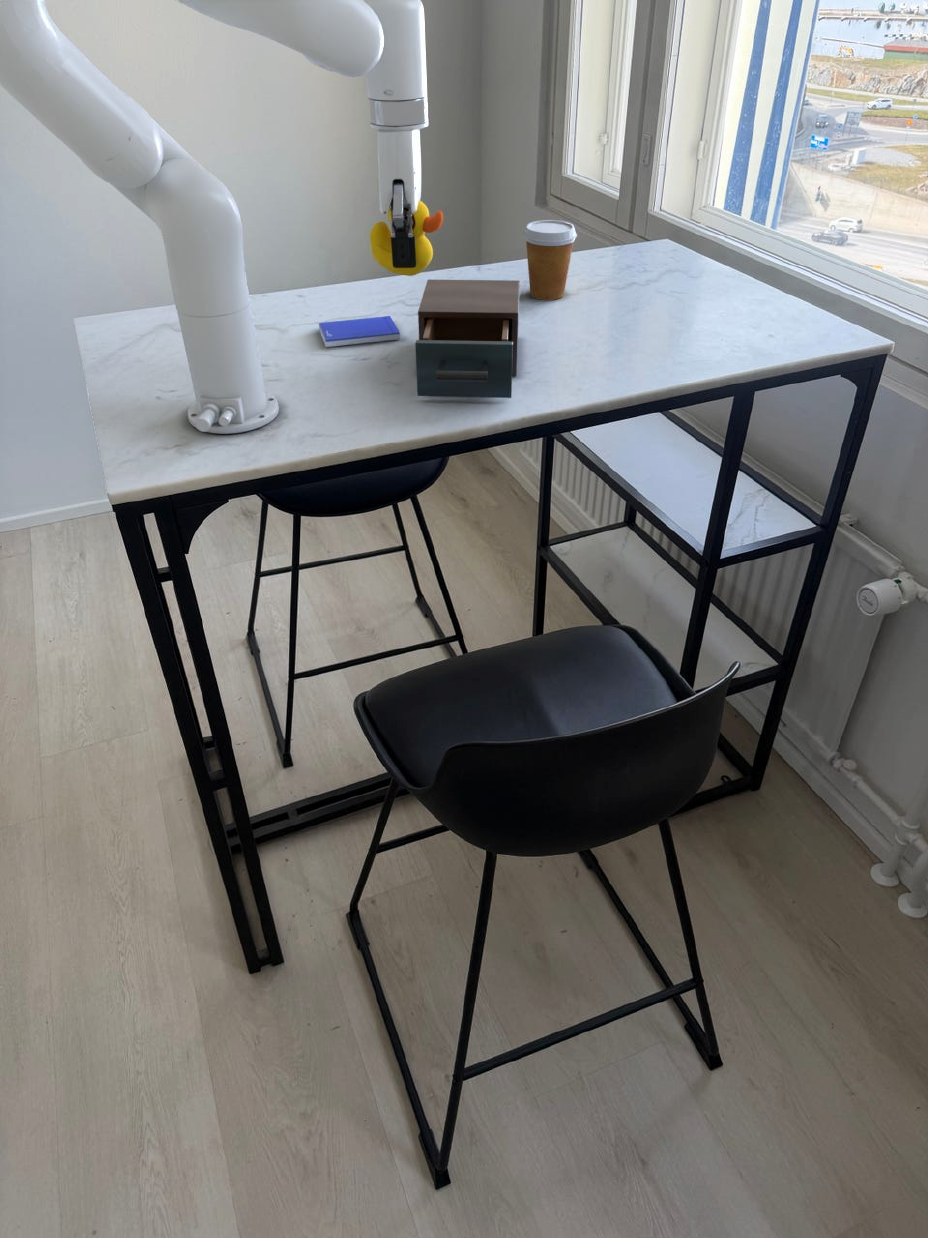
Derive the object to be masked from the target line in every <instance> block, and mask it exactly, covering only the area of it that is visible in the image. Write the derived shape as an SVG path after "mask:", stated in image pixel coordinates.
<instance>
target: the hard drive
mask: <svg viewBox="0 0 928 1238" xmlns="http://www.w3.org/2000/svg"><path fill="white" fill-rule="evenodd" d="M318 331H319V334H320V336H321V338H322V341H323V343H324V345H325V348H332V347H342V346H351V345H359V344H368V343H378V342H385V341H386V342H387V341H396V340H401V335H400V334H401V333H400V331H399V328H398V327H397V325H396V323H395V322H394V320H393V318H392V317H391V316H390V315H385V316H376V317H375V316H374V317H365V318H354V319H346V320H345V319H344V320H334V321H324V322H318Z"/></svg>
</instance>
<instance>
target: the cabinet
mask: <svg viewBox="0 0 928 1238" xmlns="http://www.w3.org/2000/svg"><path fill="white" fill-rule="evenodd" d="M520 283H521V281H520V280H509V279H508V280H506V279H505V280H504V279H503V280H501V279H500V280H497V279H427V281H426V283H425V286H424V287H425V288H424V291H423V294H422V297H421V300H420V305H419V307H418V310H417V319H418V321H417V323H418V340H423V335H424V332H425V328H426V324H427V321H428V318H497V319H509V342H513V358H512V377H513V378H514V377H515V378H516V377H517V371H518V349H519V319H520V316H519V315H520V288H521V287H520V286H521V285H520Z"/></svg>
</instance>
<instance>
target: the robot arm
mask: <svg viewBox="0 0 928 1238" xmlns="http://www.w3.org/2000/svg"><path fill="white" fill-rule="evenodd" d="M175 1H176V2H178V3H180V4H181V5H184V6H187V7H188V8H190V9H192V10H194V11H196V12H198V13H200V14H202V15H204V16H206V17H208V18H210V19H213V20H215V21H217V22H220V23H222V24H225V25H227V26H230V27H235V28H237V29H241V30H244V31H248V32H252V33H254V34H257V35H259V36H262V37H264V38H267V39H269V40H271V41H274V42H276V43H278V44H280V45H283V46H284V47H288V48H289V49H291V50H294V51H295V52H297V53H299V54H301V55H302V56H303V57H304V58H305V59H306V60H307V61H309V62H310V63H311V64H313V65H314V66H316V67H318V68H320V69H324V70H327V71H329V72H334V73H336V74H339V75H342V76H344V77H349V78H358V77H361V76H364V75H366V76H365V78H366V90H367V102H368V116H369V127H370V129H372V130H375V131H377V144H376V145H377V147H376V148H377V149H376V150H377V174H378V197H379V199H378V200H379V212H380V213H381V214H382V215H386V214H387V213H388V211H389V209H390V208H391V223H390V225H391V226H390V227H391V228H390V229H391V230H390V232H391V235H392V236H391V247H392V262H393V267H394V268H414V267H416V249H415V236H413V227H412V214H414V213H415V212H416V211H417V207H418V202H419V200H420V201H421V198H422V151H421V130H422V129H425V128H427V127H429V102H428V99H429V98H428V82H427V55H426V53H427V52H426V26H425V23H426V22H425V8H424V4H423V2H422V0H175ZM0 86H1V87H2V88H3V90H5V91H6V92H7V93H8V94H9V95H10V96H11V97H12V98H13V99H15V101H16V102H17V103H19V104H20V105H21V106H22V107H23V108H24V109H25V110H26V111H27V112H29V114H31V115H32V116H33V117H34V118H35V119H36V120H37V121H39V123H40V124H41V125H43V127H45V128H46V129H47V130H48V131H49V132H50V133H51V134H53V136H55V137H56V138H57V139H58V140H59V141H60V142H62V143H63V144H64V145H65V146H66V147H67V148H68V149H70V151H71V152H72V153H74V154H75V155H76V156H77V157H78V158H79V159H80V160H81V162H82V163H83V164H84V166H85V167H86V168H87V169H88V170H90V172H92V173H93V174H94V175H95V176H97V178H100V179H101V180H103V181H104V182H106V183H109V184H110V185H111V186H112V187H114V188H115V189H116V190H117V191H118V192H119V194H121V195H123V196H124V198H126V199H127V200H128V201H130V202H131V203H132V204H133V205H134V206H135V207H136V208H138V209H139V210H140V211H141V212H142V213H144V214H145V215H146V216H147V217H148V218H149V219H150V220H151V221H152V222H154V224H155V225H156V226H157V228H158V229H159V231H160V234H161V236H162V241H163V245H164V250H165V256H166V263H167V269H168V275H169V276H168V277H169V280H170V282H169V283H170V287H171V292H172V297H173V300H174V305H175V309H176V313H177V317H178V322H179V327H180V332H181V336H182V340H183V341H182V342H183V346H184V350H185V355H186V360H187V365H188V368H189V374H190V377H191V382H192V383H191V384H192V387H193V392H194V396H195V401H194V402H193V403H192V404H191V405H190V406H189V407H188V409H187V418H188V422H189V424H190V425H191V426H193V428H196V429H197V430H198V431H200V432H202V433H210V434H218V435H219V434H220V435H222V434H223V435H225V434H226V435H229V434H231V435H232V434H240V433H245V432H249V431H254V430H257V429H259V428H261V427H264V426H266V425H268V424H269V423H271V422H272V421H273V420H274V419H275V418H276V417H277V416H278V414H279V411H280V407H279V406H280V405H279V402H278V400H277V398H276V397H275V396H273V395H272V394H270V393H268V392H266V390H265V384H264V378H263V377H264V376H263V371H262V365H261V361H260V360H261V358H260V352H259V346H258V341H257V334H256V328H255V321H254V315H253V309H252V302H251V298H250V297H251V296H250V293H249V285H248V279H247V273H246V264H245V254H244V253H245V249H244V233H243V232H244V231H243V224H242V218H241V214H240V211H239V207H238V205H237V202H236V200H235V198H234V197H233V196H234V195H232V193H231V191H230V190H229V189H228V187H227V186H226V185H225V184H224V182H222V181H221V180H220V179H219V178H218V177H216V175H214V173H211V172H210V171H209V170H207V169H206V168H205V167H204V166H203V165H201V164H200V163H199V161H197V160H196V159H195V158H194V157H193V156H192V155H191V154H190V153H188V151H186V150H185V148H183V146H181V145H180V144H179V143H178V142H177V141H176V140H175V139H174V138H173V137H172V136H171V135H170V134H169V133H168V132H167V131H166V130H165V129H164V128H163V127H162V126H161V125H160V124H158V123H157V121H156V120H155V119H154V118H152V116H151V115H150V114H149V113H148V111H147V110H146V109H145V108H144V107H143V106H142V105H141V104H140V103H139V102H138V101H137V100H136V99H134V98H133V97H132V96H130V95H129V94H127V93H126V92H125V91H123V90H121V89H120V88H119V87H117V86H116V85H115V84H114V83H113V82H112V81H111V80H110V79H109V78H108V77H107V76H105V74H103V73H102V72H101V71H100V69H98V68H97V67H96V66H95V65H94V64H93V63H92V62H91V61H90V60H89V59H88V58H87V56H85V55H84V53H83V52H82V51H81V50H80V49H79V48H78V47H77V46H76V45H75V44H74V43H73V42H72V41H71V40H70V39H69V38H68V37H66V36H65V34H64V33H63V32H62V31H61V30H60V28H58V26H57V25H56V24H55V22H54V21H53V19H52V17H51V15H50V13H49V9H48V7H47V4H46V0H0ZM408 204H409V206H408ZM404 207H409V211H406V212H404ZM404 218H408V222H407V221H406V220H404ZM407 224H408V225H407Z"/></svg>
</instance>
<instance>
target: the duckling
mask: <svg viewBox="0 0 928 1238" xmlns="http://www.w3.org/2000/svg"><path fill="white" fill-rule="evenodd" d="M408 206H409V204H408ZM406 211H409V207H404V212H406ZM387 218H388V221H389V222H390V224H391V207H390V208H389V211H388V212H387ZM404 220H406V221H407V222H408V218H404ZM443 222H444V213H443V211H442V210H437V211H436V213H435V214H433V215H431V216H430V211H429V208H428V207H427V205H426V203H424V202H423V201H421V199H420V200H419V202H418V207H417V211H416V212H415V213H414V214H412V227H413V236H415V249H416V267H414V268H394V267H393V262H392V247H391V236H392V233H391V230H390V228H389V226H388V224H387V223H386V222H384V221H378V222H376V223H375V224H373V227H372V228H371V230H370V232H369V242H370V250H371V254H372V257H373V258H374V260H375V261H376V263H378V265H379V266H381V267H382V268H383V269H385V270H387V271H388V272H391V273H393V274H396V275H402V276H407V277H413V276H416V275H418V274H420V273H422V272H423V271H424V270H425V269H426V268H427V267H428V266H429V265H430V263H431V262H432V259H433V256H434V249H433V245H432V244H431V241H430V240H429V239H428V237H427V236H425V235H426V234H432V233H435V232H436V231H439V230H440V229H441V226H442V225H443ZM407 225H408V224H407Z"/></svg>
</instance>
